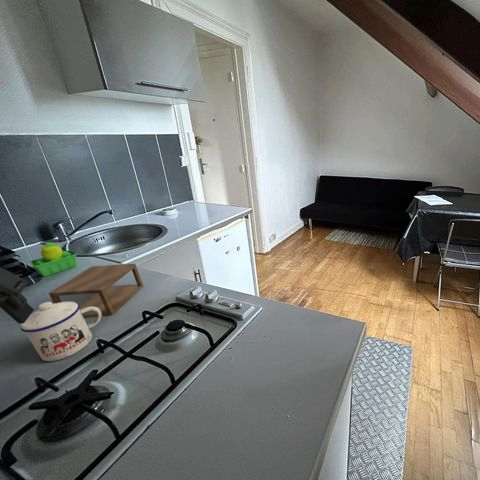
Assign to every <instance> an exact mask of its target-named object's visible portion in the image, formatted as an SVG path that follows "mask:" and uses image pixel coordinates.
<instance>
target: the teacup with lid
mask: <svg viewBox="0 0 480 480" xmlns="http://www.w3.org/2000/svg"><path fill="white" fill-rule="evenodd" d="M78 304H79V303H76V302H75V301H62V302H60V303H54V302H53V303H52V302H51V301H44V302H42V303H40V304H39V305H38V309H36V310H35V311H33V312H32V313H31V315H30V316H29V317H28V319H27V320H26V321H25V323H20V330H21V331H22V332H24V333H25V335H26V336H27V338H28V339H29V341H30V343H31V344H32V346H33V347H34V349H35V350H36V352H37V354H38V355H39V357H40V358H41V359H42V360H43V361H45V362H57V361H61V360H64V359H66V358H69V357H70V356H73V355H75V354H76V353H79V351H81V350H83V349H85V347H87V346H88V344H89V343H90V342H91V341H92V338H93V334H92V332H91V330H90V329H92V328H93V327H95V326H96V325H98V324H99V323H100V321H101V319H102V316H101V311H100V309H99V308H97V307H87V308H84V309H81V310H79V305H78ZM87 311H96V312H97V316H96V318H95V319H94V321H91V323H88V324H87V322H86V320H85V317H83V316H82V314H83V313H85V312H87Z"/></svg>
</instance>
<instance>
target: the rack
mask: <svg viewBox="0 0 480 480" xmlns="http://www.w3.org/2000/svg"><path fill="white" fill-rule="evenodd" d="M130 272H132V274H133V277H134V279H135V282H136V284H124V285H123V284H121V285H114V284H116V283H117V282H118V281H120V280H121V279H122V278H124V276H126V275H127V274H129V273H130ZM143 287H144V284H143V281H142V278H141V275H140V273H139V270H138V268H137V265H136V263H122V264H109V265H108V264H107V265H94V266H93V265H92V266H90V267H88V268H87V269H85V270H83V271H82V272H80V273H78V274H77V275H75V276H74V277H72V278H71V279H69V280H68V281H66V282H65V283H63V284H61V285H60V286H58V287H56V288H54V289H52V290H51V291H49V292H48V295H49V297H50V298H51V300H52V302H53V304H54V303H60V302H63V301H62V300H61V296H74V295H75V296H78V295H88V296H87V297H85V298H84V299H83V300H81V301H79V302H78V303H77V304H78V305H79V310H81V309H84V308H87V307H97V308H99V309H100V311H101V317H107V316H114V315H115V314H116V313H117V312H118V311H119V310H120V309H121V308H123V306H124V305H126V303H127V302H128V301H130V299H131V298H132V297H134V296H135V295H136V294H137V293H138V292H139V291H140V290H141V289H142V288H143ZM82 316H83V318H93V317H97V312H96V311H87V312H85V313H83V314H82Z"/></svg>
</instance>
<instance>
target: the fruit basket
mask: <svg viewBox="0 0 480 480" xmlns="http://www.w3.org/2000/svg"><path fill="white" fill-rule="evenodd" d="M40 256H41V257H40V258H37V259H33V260H30V261H29V264H30V265H31V266H32V267H33V268H34V269H35V270H37V272H38V273H39V274H40V275H42V277H43V278H45V277H49V276H51V275H54V274H58V273H60V272H64V271H67V270H69V269H73V268H75V267H77V253H76V252H75V251H73V250H72V249H69V250H64V251H63V249H62V248H61V247H60V246H58V245H57V244H55V243H54V242H47V243H45V245H43V246H42V247H41V250H40Z"/></svg>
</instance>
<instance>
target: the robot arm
mask: <svg viewBox="0 0 480 480" xmlns="http://www.w3.org/2000/svg"><path fill="white" fill-rule="evenodd" d="M28 285H29V281H28V280H26V279H24V278H23V277H21V276H18V275H16V274H15V273H13V272H11V271H9V270H7V269H5V268H3V267H1V266H0V309H1V310H2V311H3V312H5V313H6V314H7V315H8V316H10V318H12V319H13V320H14V321H15V322H16V323H18V324H20V325H21V323H25V321H26V320H27V319H28V317H29V316H30V315H31V314H32V313H34V310H35V309H34V308H33V307H32V306H31V305H30V304H29V303H28V299H27V298H26V297H25V296H24V295H23V294H22V292H23V291H24V290H25V288H26V287H27V286H28Z"/></svg>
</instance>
